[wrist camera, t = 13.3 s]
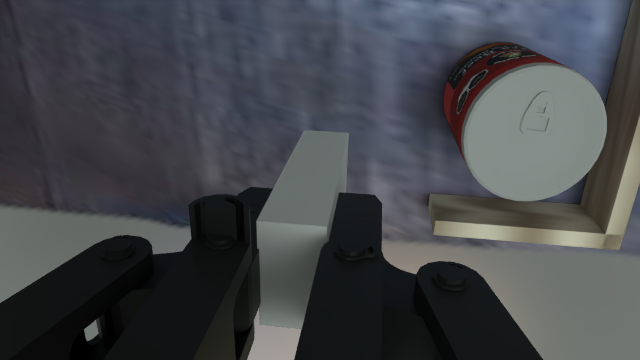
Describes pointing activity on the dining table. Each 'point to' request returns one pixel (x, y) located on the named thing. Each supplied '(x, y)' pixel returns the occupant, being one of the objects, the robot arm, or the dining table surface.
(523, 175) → the canned food
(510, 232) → the box
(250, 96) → the dining table surface
